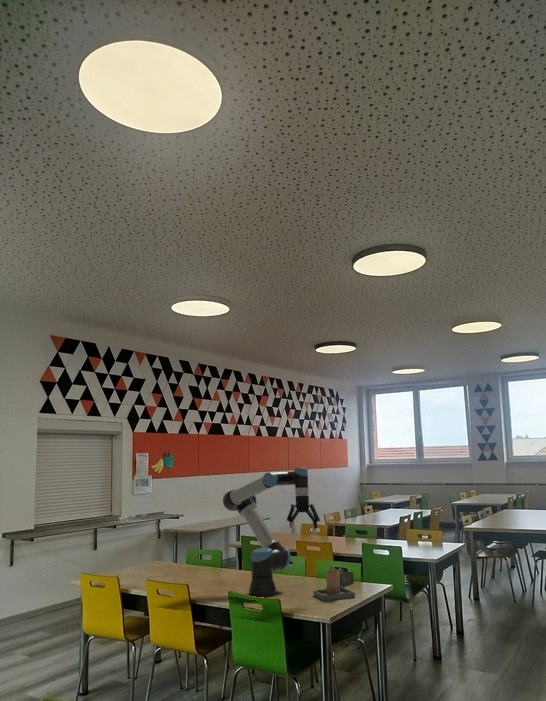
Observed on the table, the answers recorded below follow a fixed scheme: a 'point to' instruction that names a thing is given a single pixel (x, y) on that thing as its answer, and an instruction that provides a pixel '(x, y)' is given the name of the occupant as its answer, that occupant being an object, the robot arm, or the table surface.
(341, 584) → the beverage carton
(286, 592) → the table surface
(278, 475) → the robot arm
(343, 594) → the grey square tray
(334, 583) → the terracotta cup
